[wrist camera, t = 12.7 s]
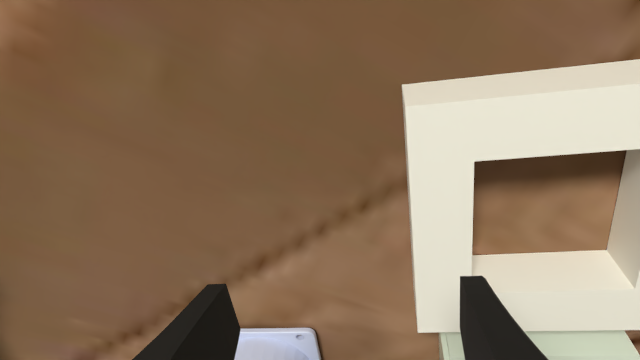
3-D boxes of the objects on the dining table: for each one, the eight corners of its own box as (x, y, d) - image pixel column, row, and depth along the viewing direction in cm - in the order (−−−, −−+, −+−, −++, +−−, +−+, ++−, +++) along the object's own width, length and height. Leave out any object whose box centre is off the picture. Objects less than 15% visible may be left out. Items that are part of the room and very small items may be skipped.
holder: (413, 293, 26) (417, 332, 24) (401, 84, 20) (405, 106, 18) (652, 287, 24) (685, 329, 22) (718, 50, 18) (776, 69, 16)
